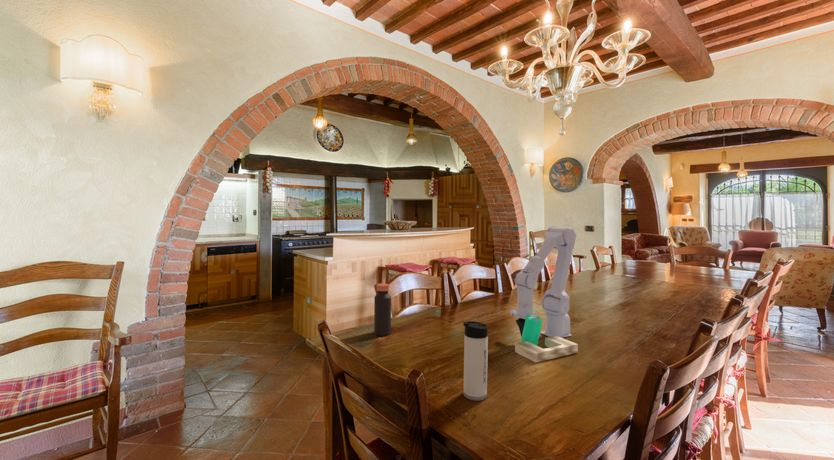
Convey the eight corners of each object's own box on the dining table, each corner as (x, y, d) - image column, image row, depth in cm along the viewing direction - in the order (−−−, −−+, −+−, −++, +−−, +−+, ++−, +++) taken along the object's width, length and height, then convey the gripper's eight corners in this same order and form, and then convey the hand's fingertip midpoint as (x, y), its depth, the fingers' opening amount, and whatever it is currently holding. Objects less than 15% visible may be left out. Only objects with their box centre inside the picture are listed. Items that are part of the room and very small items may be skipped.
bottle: (386, 337, 142) (387, 287, 141) (371, 334, 144) (371, 285, 143) (393, 331, 148) (393, 283, 147) (378, 329, 150) (378, 282, 149)
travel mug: (460, 389, 100) (461, 319, 99) (483, 389, 101) (484, 319, 100) (464, 401, 94) (466, 326, 93) (489, 400, 94) (491, 326, 93)
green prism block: (537, 349, 131) (544, 319, 128) (520, 344, 133) (526, 314, 130) (537, 341, 137) (543, 313, 134) (521, 337, 138) (527, 308, 136)
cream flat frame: (555, 343, 137) (555, 335, 137) (577, 352, 128) (577, 344, 128) (514, 351, 128) (515, 343, 128) (535, 362, 119) (535, 353, 119)
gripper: (504, 300, 142) (503, 333, 142) (530, 309, 129) (529, 346, 129) (518, 298, 145) (517, 331, 145) (545, 307, 132) (544, 343, 132)
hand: (524, 338), depth 138 cm, fingers closed
